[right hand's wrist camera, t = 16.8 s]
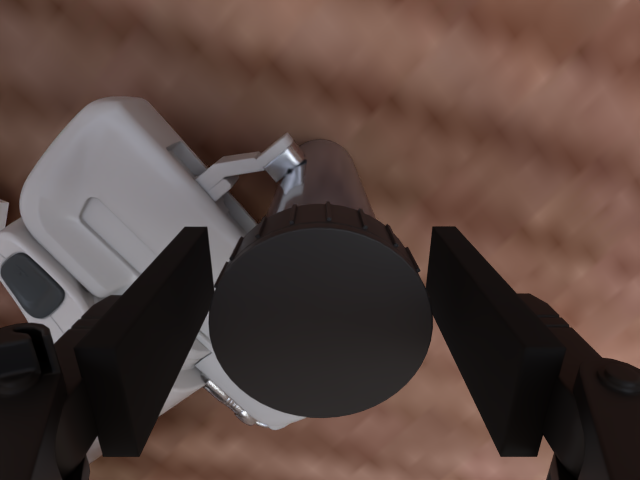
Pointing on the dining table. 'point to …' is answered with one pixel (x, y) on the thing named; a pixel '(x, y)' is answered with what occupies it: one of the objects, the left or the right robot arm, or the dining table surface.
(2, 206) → the pile of blocks
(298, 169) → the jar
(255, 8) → the dining table surface
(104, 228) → the left robot arm
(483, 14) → the dining table surface
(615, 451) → the right robot arm
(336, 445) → the dining table surface
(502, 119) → the dining table surface
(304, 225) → the lid
